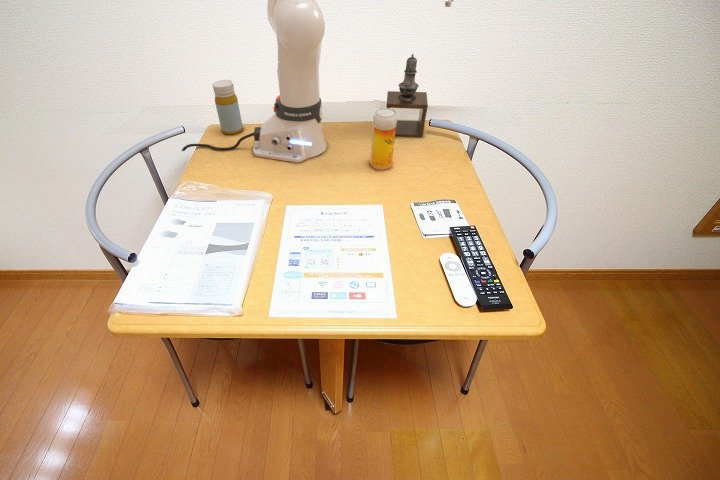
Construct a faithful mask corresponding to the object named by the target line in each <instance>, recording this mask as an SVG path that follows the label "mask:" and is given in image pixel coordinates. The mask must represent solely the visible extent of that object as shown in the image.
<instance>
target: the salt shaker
mask: <svg viewBox="0 0 720 480" xmlns="http://www.w3.org/2000/svg"><path fill="white" fill-rule="evenodd" d="M414 56H415V55H414V53H412V54H411V56H410V57H408V58H407V59H406V62H405V69H404V71H403V72H404V76H403V77H404V78H403V81H402V82H400V83H398V89H399V92H401V93H402V94H401V95H399V96H398V98H399V99H400V100H403V101H412V100H415V99H416V97H415V96H414V95H413V94H414V93H415V92H417V90H418V88H419V87H420V86H419V84H418V83H416V74H417V73H418V71H417V70H416V69H417V63H418V59H417V57H414Z"/></svg>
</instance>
